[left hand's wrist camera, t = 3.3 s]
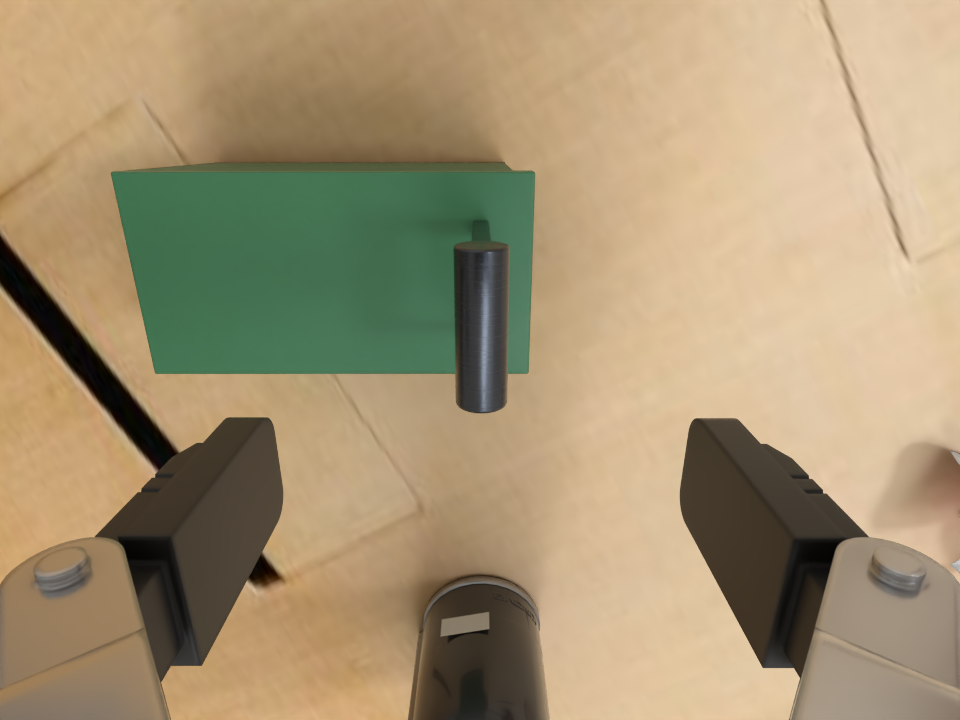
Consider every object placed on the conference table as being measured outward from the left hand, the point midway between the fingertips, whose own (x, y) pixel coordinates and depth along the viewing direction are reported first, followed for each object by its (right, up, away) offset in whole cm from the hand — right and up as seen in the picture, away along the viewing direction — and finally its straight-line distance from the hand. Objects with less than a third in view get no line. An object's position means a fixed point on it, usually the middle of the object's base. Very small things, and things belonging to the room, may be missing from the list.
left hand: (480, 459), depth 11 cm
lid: (-7, +6, +15) cm, 18 cm away
